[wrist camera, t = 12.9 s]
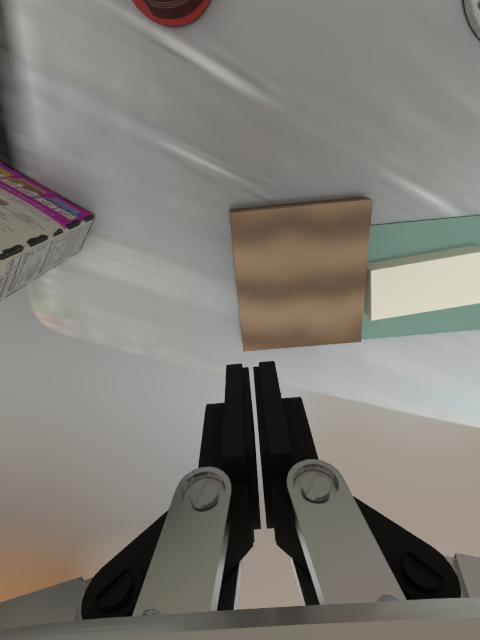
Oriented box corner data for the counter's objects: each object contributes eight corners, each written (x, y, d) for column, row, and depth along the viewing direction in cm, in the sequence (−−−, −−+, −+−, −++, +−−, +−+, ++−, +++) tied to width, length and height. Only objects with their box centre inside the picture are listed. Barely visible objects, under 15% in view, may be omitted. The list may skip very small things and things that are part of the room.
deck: (230, 209, 35) (229, 212, 32) (363, 196, 34) (372, 199, 32) (243, 341, 42) (243, 351, 39) (354, 331, 41) (361, 341, 39)
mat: (361, 226, 36) (362, 226, 35) (512, 212, 35) (514, 212, 35) (353, 338, 42) (354, 339, 41) (482, 328, 41) (483, 329, 41)
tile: (362, 264, 37) (371, 270, 35) (472, 245, 36) (488, 250, 34) (363, 311, 40) (371, 320, 37) (466, 294, 39) (480, 303, 37)
